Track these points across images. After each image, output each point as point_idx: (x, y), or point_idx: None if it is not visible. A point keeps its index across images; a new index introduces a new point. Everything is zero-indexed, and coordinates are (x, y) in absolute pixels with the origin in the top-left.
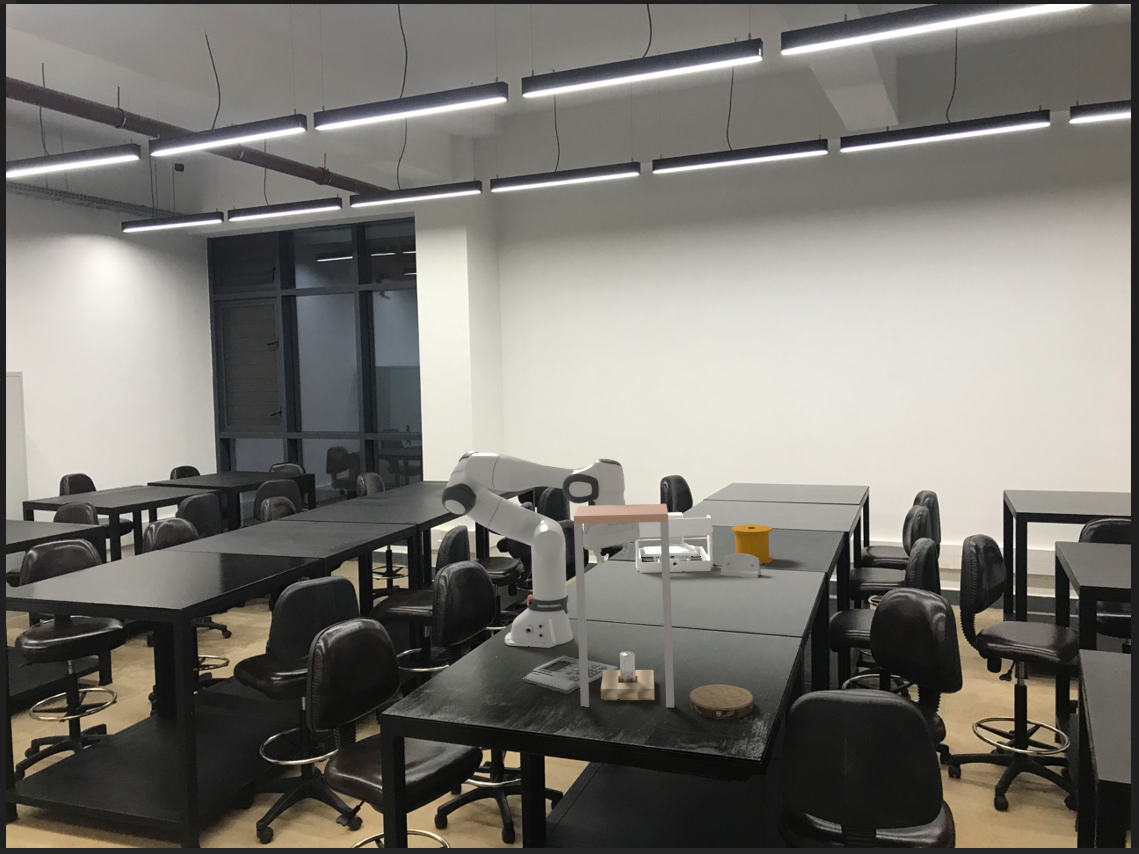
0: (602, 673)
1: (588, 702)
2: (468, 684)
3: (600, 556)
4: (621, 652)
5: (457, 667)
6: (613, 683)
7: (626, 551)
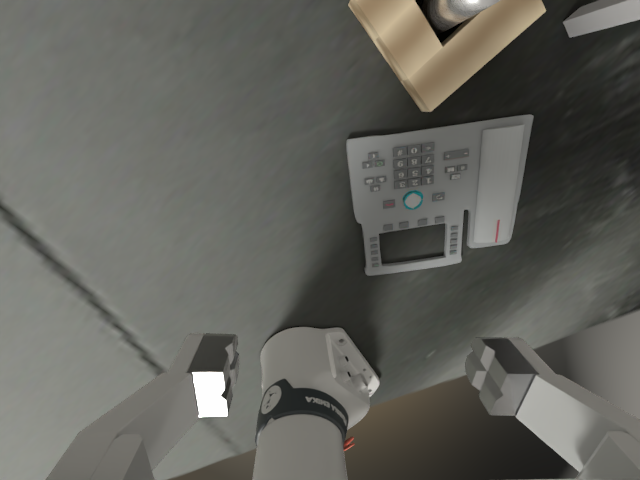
0: (399, 138)
1: (591, 3)
2: (562, 291)
3: (570, 385)
4: (485, 6)
5: None
6: (497, 13)
7: (182, 376)
